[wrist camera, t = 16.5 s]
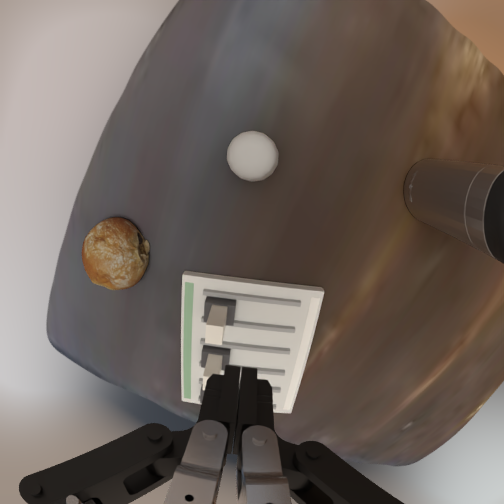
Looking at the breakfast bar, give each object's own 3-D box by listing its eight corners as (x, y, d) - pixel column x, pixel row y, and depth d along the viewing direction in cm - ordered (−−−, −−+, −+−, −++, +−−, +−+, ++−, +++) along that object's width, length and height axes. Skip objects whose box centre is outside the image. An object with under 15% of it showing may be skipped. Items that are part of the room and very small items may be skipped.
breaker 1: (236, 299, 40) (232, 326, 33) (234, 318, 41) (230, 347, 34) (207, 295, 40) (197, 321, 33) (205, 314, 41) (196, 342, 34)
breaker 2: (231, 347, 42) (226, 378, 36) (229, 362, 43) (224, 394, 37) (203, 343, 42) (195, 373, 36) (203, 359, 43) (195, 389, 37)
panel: (322, 287, 41) (325, 294, 39) (290, 407, 48) (291, 416, 46) (185, 270, 41) (181, 276, 38) (183, 395, 48) (181, 403, 46)
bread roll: (161, 263, 44) (165, 270, 37) (107, 298, 42) (101, 313, 34) (128, 207, 42) (125, 203, 34) (73, 243, 39) (59, 247, 32)
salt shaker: (248, 188, 37) (242, 204, 25) (221, 152, 36) (201, 148, 24) (286, 162, 36) (300, 164, 24) (259, 125, 35) (260, 107, 22)
